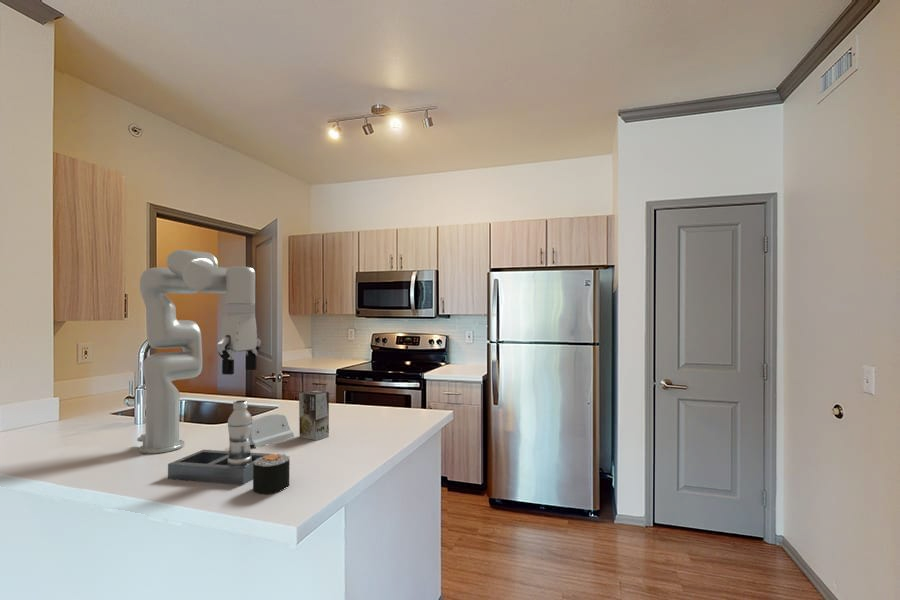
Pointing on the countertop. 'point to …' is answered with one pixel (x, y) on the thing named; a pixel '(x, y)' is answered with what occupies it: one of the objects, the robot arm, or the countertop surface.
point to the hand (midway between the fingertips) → (240, 371)
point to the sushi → (271, 473)
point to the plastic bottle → (239, 435)
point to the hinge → (269, 430)
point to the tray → (211, 468)
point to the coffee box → (314, 414)
